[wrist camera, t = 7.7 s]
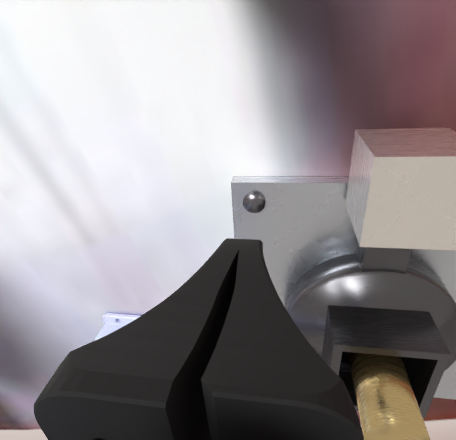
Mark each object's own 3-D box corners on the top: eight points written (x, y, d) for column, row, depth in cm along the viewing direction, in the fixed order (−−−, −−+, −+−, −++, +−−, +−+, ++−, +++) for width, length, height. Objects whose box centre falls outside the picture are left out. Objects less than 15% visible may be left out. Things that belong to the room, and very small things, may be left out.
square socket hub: (283, 359, 27) (282, 424, 22) (290, 130, 17) (292, 164, 13) (428, 372, 25) (459, 447, 20) (523, 126, 16) (617, 162, 11)
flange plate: (244, 367, 30) (242, 379, 29) (233, 176, 21) (230, 183, 20) (484, 391, 27) (492, 405, 26) (599, 177, 17) (619, 186, 16)
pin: (345, 356, 22) (363, 454, 17) (345, 325, 21) (365, 421, 16) (393, 357, 22) (426, 459, 16) (396, 325, 20) (433, 425, 15)
